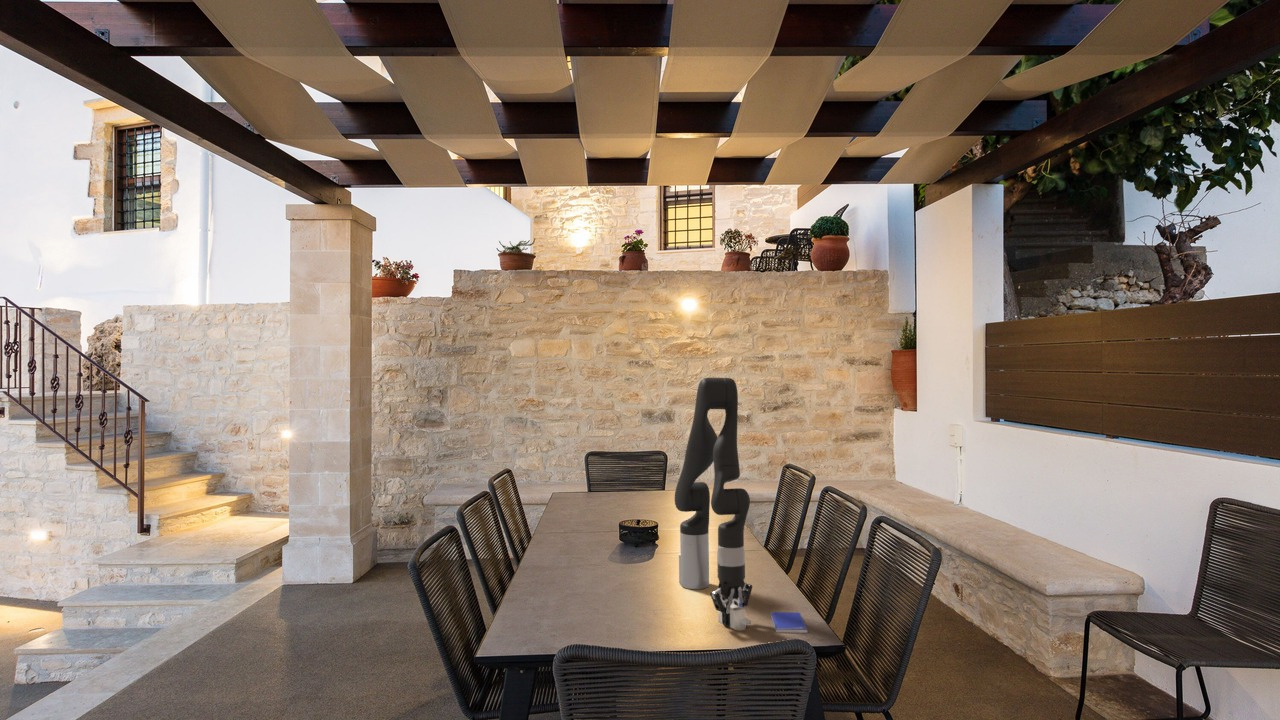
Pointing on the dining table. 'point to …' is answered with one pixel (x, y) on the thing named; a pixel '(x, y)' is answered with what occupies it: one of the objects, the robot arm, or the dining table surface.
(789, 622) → the hard drive
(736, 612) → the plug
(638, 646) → the dining table surface
